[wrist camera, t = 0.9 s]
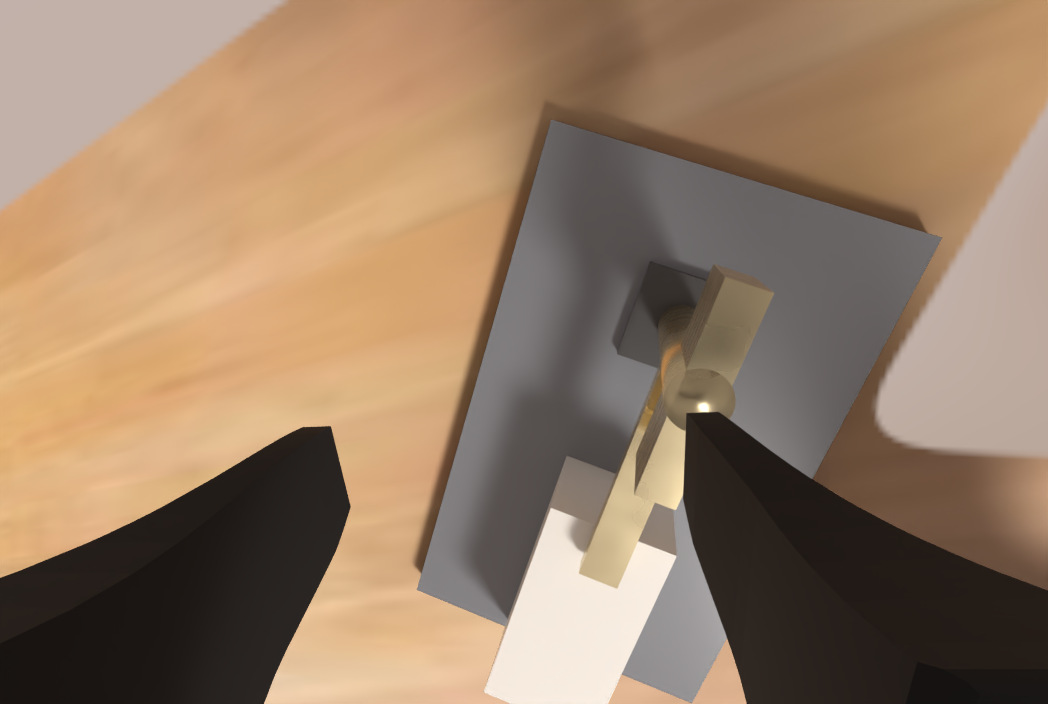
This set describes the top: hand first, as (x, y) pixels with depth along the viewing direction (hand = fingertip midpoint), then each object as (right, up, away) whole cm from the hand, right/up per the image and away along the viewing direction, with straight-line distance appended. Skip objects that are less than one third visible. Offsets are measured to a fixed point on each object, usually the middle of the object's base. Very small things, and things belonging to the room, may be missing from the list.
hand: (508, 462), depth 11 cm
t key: (+6, +1, +12) cm, 13 cm away
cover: (+3, -8, +16) cm, 18 cm away
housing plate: (+5, -2, +15) cm, 16 cm away
